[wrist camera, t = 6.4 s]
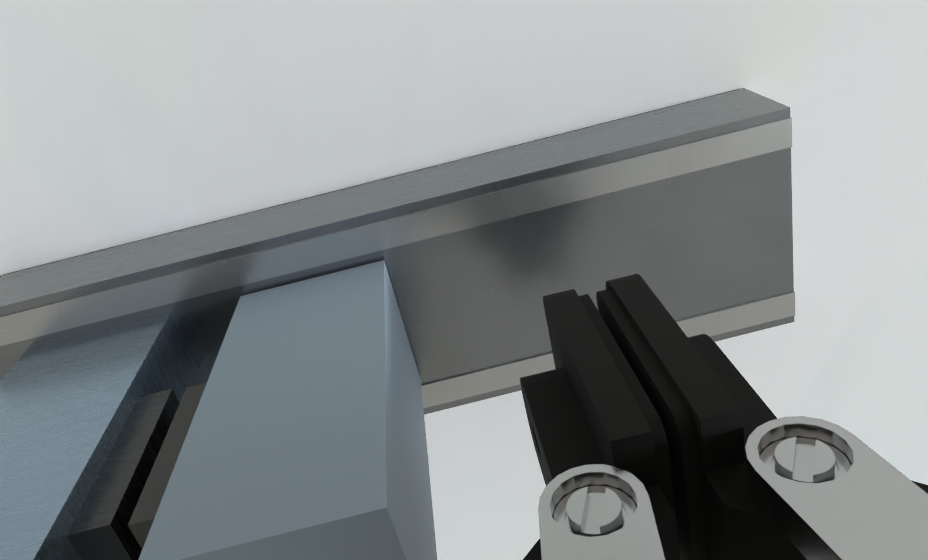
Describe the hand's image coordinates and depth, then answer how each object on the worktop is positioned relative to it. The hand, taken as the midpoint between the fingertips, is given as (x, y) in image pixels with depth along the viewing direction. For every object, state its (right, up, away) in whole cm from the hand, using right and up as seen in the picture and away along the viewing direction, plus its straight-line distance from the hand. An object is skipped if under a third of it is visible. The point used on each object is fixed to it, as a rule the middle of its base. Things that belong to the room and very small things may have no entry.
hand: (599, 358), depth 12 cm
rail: (-4, +1, +5) cm, 6 cm away
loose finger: (-5, 0, +3) cm, 6 cm away
